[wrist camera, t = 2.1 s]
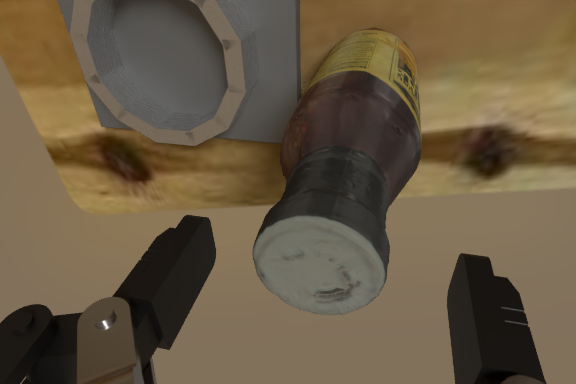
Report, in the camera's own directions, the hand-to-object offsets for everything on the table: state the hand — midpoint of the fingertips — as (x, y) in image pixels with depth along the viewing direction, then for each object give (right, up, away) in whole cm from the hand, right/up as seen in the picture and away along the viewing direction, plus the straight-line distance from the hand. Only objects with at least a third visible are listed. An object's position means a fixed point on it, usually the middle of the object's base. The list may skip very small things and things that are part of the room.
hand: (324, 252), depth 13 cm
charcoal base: (-9, +13, +17) cm, 23 cm away
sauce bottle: (+5, +11, +15) cm, 19 cm away
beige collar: (-9, +12, +16) cm, 22 cm away
